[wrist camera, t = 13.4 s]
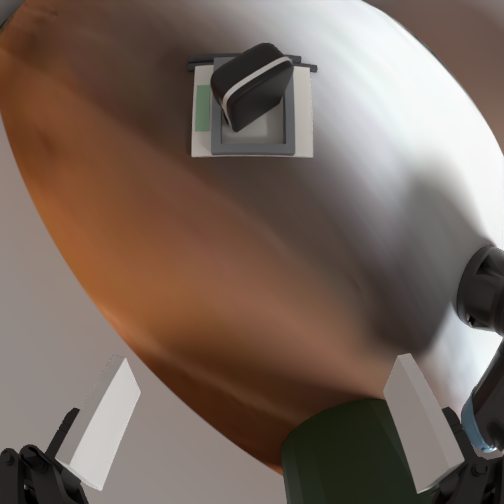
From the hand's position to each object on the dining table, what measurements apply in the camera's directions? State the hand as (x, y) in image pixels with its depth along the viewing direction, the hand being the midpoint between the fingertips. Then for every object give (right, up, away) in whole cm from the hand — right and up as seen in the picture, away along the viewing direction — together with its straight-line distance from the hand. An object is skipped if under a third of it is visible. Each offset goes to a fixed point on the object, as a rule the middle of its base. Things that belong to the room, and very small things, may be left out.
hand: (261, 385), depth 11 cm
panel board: (0, +23, +18) cm, 29 cm away
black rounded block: (-1, +23, +17) cm, 29 cm away
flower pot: (+18, -31, +30) cm, 47 cm away
